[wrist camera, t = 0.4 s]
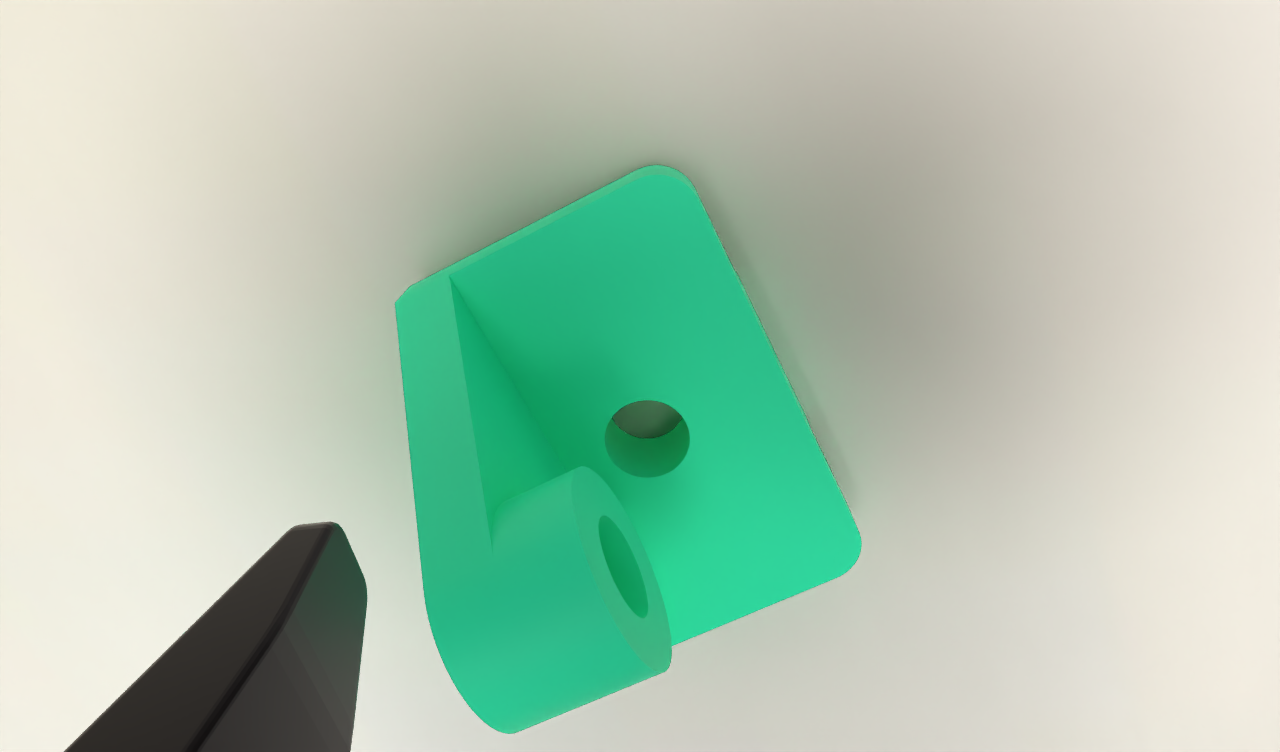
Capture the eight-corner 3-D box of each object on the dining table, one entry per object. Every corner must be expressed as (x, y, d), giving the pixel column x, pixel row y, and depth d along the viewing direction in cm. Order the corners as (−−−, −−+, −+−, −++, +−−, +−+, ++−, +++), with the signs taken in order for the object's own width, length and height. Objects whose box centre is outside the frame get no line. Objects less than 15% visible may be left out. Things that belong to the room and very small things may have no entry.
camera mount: (852, 514, 27) (966, 780, 18) (624, 611, 29) (613, 909, 19) (674, 144, 23) (696, 227, 14) (419, 275, 25) (277, 435, 15)
